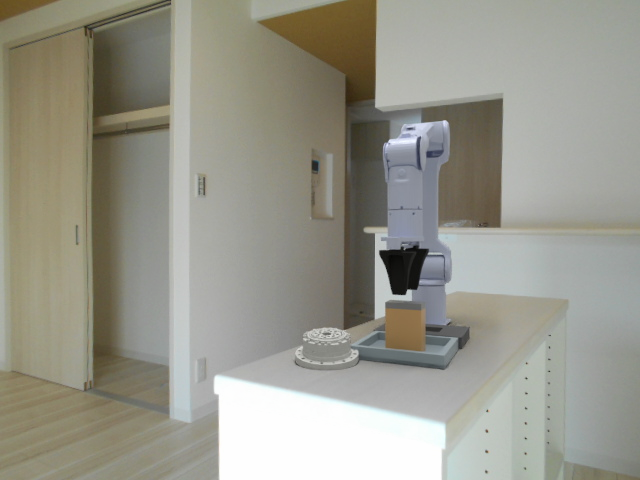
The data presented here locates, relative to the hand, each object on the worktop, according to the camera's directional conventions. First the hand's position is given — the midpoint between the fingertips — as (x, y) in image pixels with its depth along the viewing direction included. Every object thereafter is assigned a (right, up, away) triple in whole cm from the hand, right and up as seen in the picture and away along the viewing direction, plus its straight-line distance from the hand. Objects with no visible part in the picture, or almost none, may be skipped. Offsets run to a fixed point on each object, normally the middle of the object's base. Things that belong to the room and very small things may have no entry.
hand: (405, 292), depth 76 cm
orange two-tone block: (0, -10, 0) cm, 10 cm away
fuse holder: (+5, -10, +11) cm, 16 cm away
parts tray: (0, -10, 0) cm, 10 cm away
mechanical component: (-13, -11, -4) cm, 17 cm away
